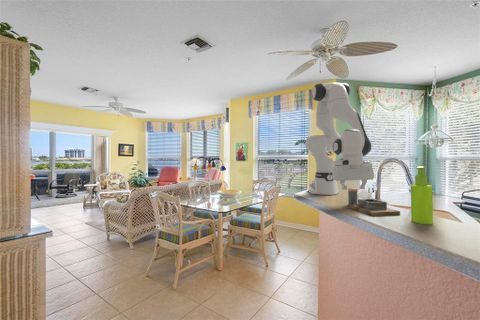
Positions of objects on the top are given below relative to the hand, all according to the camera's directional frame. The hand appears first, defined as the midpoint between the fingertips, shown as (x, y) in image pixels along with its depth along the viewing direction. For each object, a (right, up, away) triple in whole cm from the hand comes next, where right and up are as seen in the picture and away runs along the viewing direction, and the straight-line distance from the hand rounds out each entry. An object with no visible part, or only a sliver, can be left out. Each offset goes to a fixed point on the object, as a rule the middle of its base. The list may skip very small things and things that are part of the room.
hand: (353, 189), depth 105 cm
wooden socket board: (+2, -8, -12) cm, 15 cm away
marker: (0, -8, +1) cm, 8 cm away
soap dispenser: (+9, -8, -30) cm, 32 cm away
